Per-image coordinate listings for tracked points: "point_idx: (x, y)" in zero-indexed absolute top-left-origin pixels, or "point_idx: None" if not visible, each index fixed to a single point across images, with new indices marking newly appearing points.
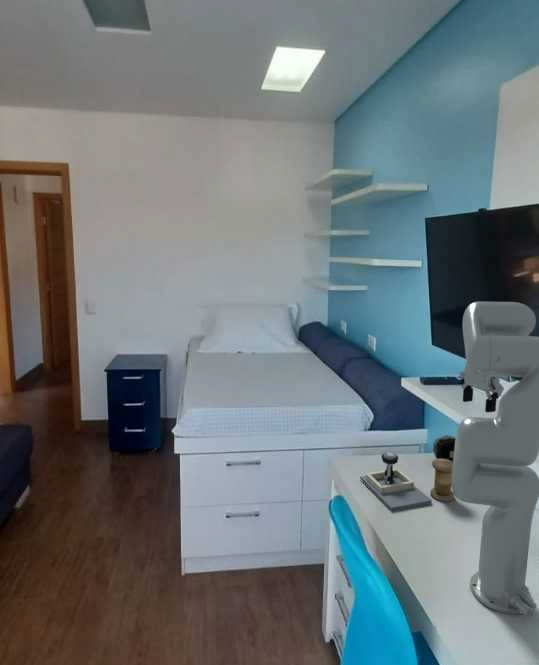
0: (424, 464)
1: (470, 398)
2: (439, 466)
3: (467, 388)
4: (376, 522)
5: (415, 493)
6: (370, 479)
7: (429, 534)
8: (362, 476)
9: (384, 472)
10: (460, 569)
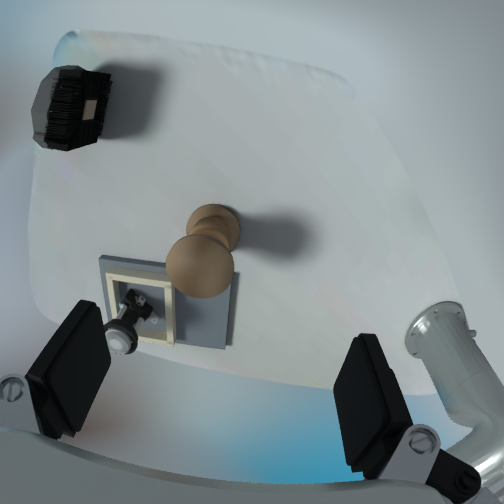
0: (77, 165)
1: (92, 336)
2: (209, 291)
3: (61, 430)
4: (244, 374)
5: None
6: None
7: (309, 333)
8: None
9: (116, 305)
10: (385, 342)
